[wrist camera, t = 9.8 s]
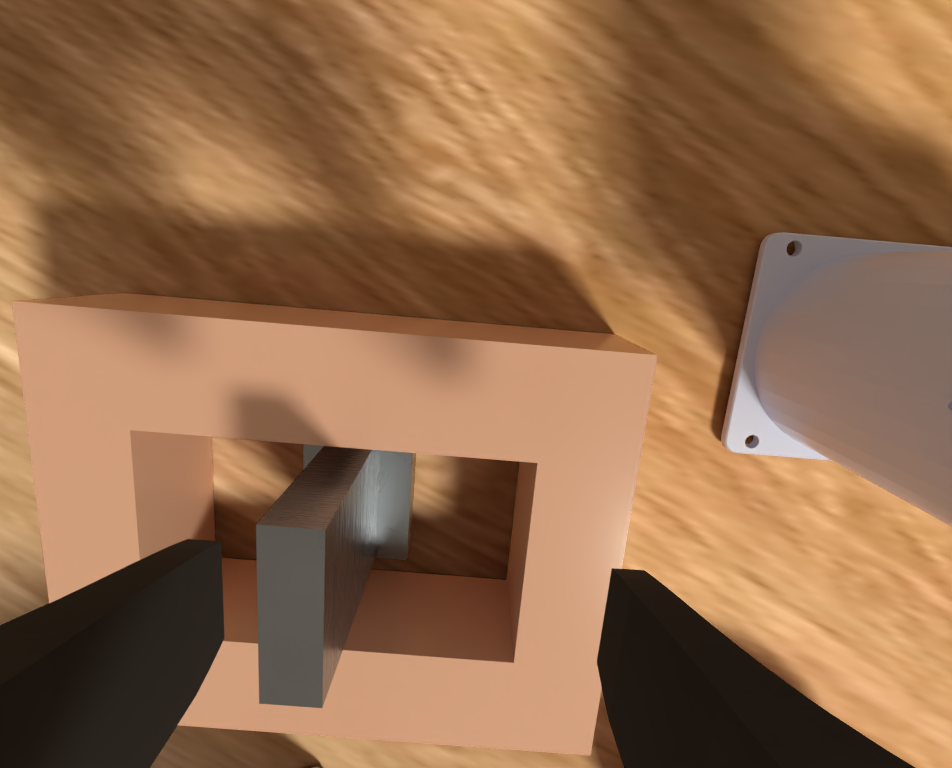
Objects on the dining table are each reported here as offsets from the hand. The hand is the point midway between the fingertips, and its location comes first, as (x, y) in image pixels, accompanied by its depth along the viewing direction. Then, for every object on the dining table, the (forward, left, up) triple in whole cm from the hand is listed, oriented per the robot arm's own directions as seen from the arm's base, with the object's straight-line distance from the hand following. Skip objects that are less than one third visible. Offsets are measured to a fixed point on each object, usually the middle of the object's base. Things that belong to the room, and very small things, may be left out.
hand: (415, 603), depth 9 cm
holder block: (+3, +3, -10) cm, 11 cm away
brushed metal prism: (+3, +3, -11) cm, 11 cm away
